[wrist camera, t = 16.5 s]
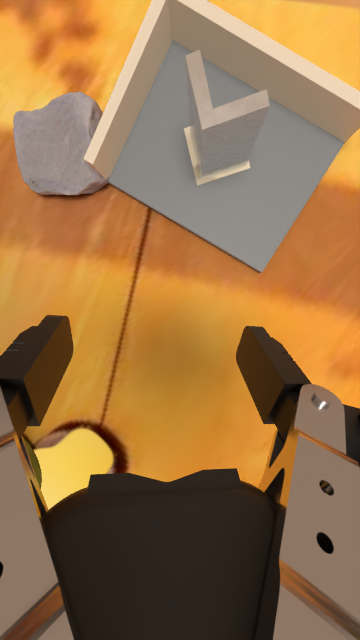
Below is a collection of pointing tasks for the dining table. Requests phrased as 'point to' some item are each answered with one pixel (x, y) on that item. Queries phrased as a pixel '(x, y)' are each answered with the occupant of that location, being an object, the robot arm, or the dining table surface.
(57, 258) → the dining table surface
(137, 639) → the robot arm
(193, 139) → the bracket
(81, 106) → the stone block
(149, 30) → the arena
